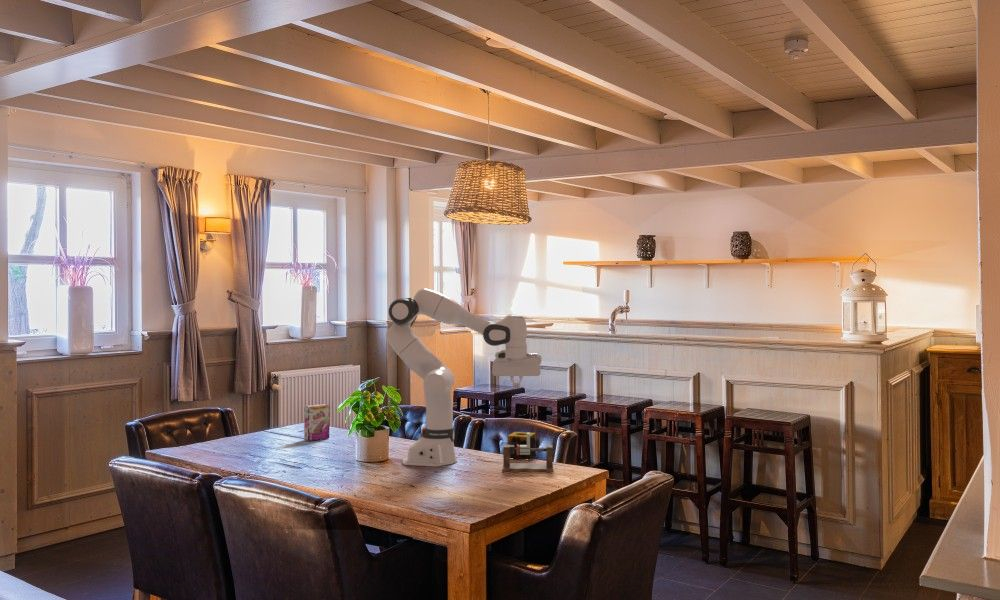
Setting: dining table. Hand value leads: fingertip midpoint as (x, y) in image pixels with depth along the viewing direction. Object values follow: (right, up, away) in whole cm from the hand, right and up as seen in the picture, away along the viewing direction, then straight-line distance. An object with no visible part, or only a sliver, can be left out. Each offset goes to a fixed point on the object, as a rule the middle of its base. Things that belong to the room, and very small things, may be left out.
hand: (516, 386), depth 332 cm
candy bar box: (-94, -31, +50) cm, 111 cm away
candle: (+3, -31, +9) cm, 32 cm away
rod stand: (+4, -31, -15) cm, 35 cm away
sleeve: (+3, -25, -15) cm, 29 cm away
